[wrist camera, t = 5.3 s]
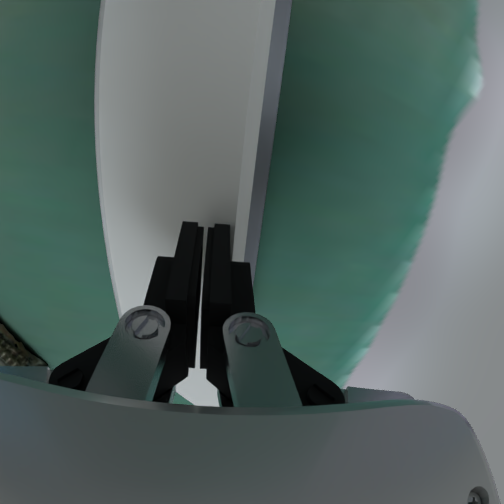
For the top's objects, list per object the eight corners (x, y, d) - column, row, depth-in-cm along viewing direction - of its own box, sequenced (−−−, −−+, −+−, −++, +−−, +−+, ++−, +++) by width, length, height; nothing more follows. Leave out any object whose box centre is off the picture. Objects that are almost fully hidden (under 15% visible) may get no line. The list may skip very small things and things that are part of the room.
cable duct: (157, -12, 13) (135, -33, 9) (279, -6, 14) (295, -27, 10) (156, 305, 26) (145, 351, 22) (240, 310, 27) (242, 357, 23)
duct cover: (118, -27, 9) (101, -29, 9) (288, -68, 6) (272, -80, 5) (134, 344, 22) (125, 351, 22) (228, 411, 19) (219, 421, 18)
